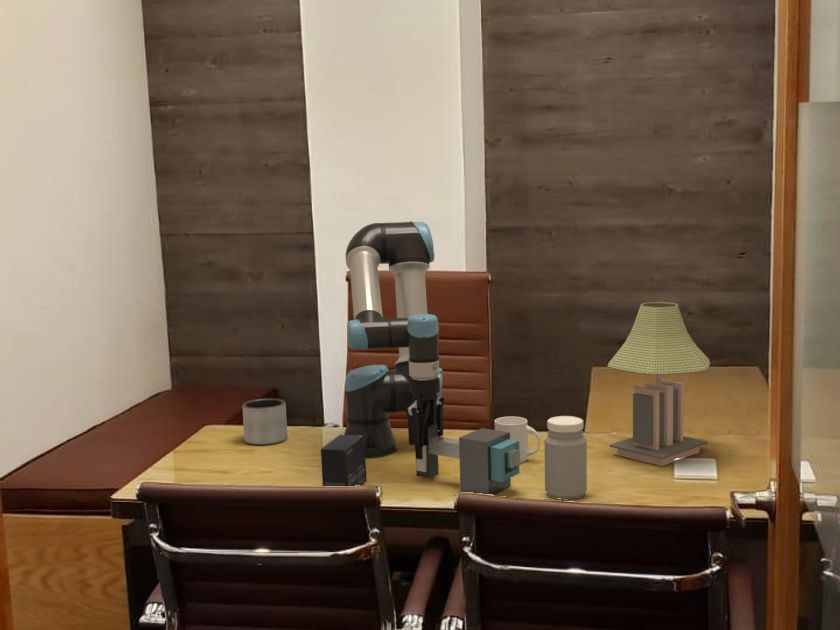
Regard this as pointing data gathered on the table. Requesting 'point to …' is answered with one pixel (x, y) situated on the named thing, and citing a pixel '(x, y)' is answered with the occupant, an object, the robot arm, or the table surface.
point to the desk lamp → (659, 384)
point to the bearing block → (480, 461)
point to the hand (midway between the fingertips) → (427, 468)
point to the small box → (344, 461)
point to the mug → (518, 433)
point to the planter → (264, 421)
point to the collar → (502, 460)
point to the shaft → (451, 451)
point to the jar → (565, 458)
